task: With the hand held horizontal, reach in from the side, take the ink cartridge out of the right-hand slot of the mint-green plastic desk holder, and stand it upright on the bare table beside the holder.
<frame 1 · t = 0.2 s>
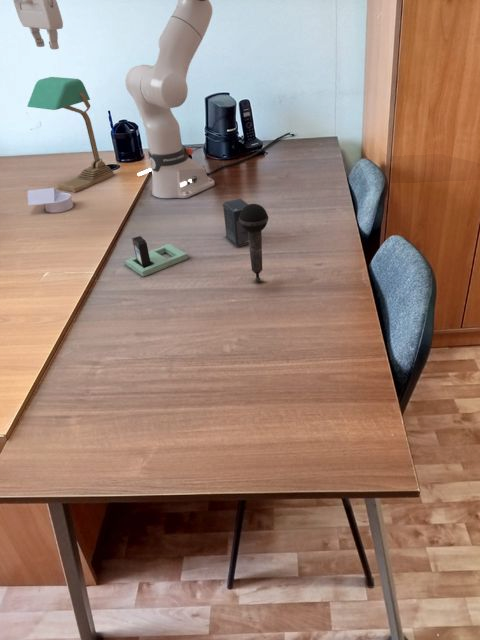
hand: (47, 47, 141), 48 cm above the table, tool pointing down, fingers open, 8 cm apart
wedge on round base: (53, 208, 179), on the table
banker's lamp: (86, 182, 198), on the table
microphone: (258, 282, 132), on the table
ink cartridge: (144, 267, 142), resting in holder
holder: (157, 261, 143), on the table
box: (240, 240, 152), on the table
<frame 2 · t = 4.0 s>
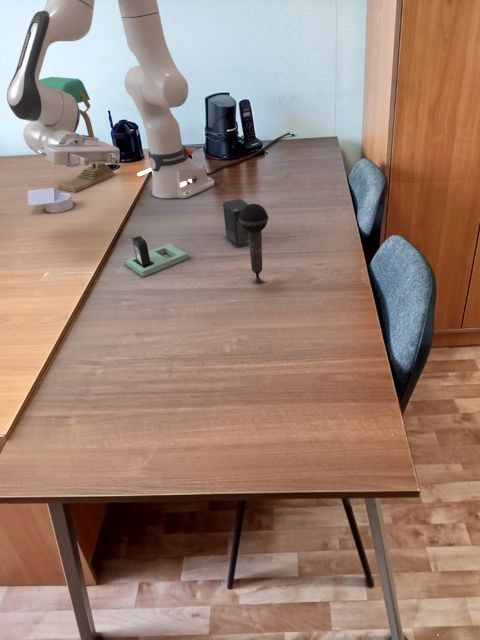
hand: (102, 161, 135), 25 cm above the table, tool horizontal, fingers open, 8 cm apart
nothing on the table moved.
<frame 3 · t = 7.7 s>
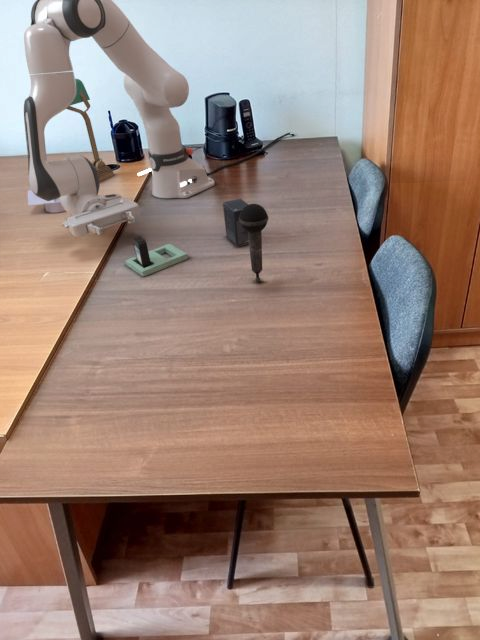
hand: (117, 225, 143), 8 cm above the table, tool horizontal, fingers open, 8 cm apart
nothing on the table moved.
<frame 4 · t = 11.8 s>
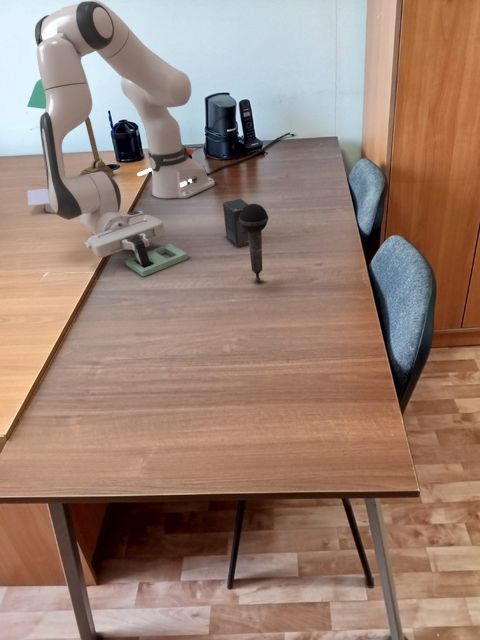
hand: (141, 245, 137), 7 cm above the table, tool horizontal, fingers closed on ink cartridge, 1 cm apart
ink cartridge: (144, 267, 141), resting in holder, touching gripper
everything else where it was.
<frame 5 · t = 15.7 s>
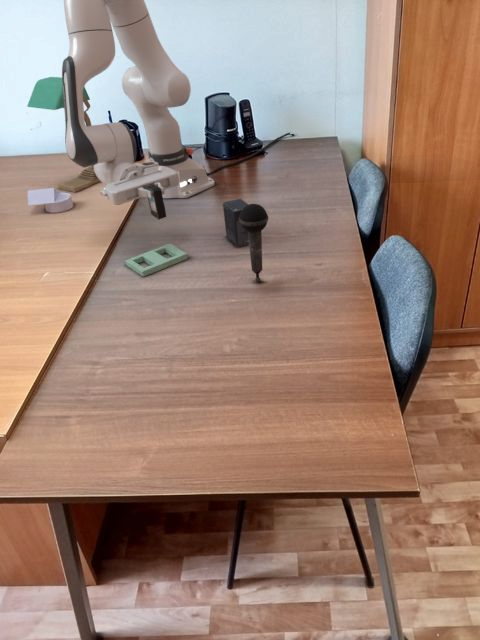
hand: (157, 193, 138), 17 cm above the table, tool horizontal, fingers closed on ink cartridge
ink cartridge: (159, 217, 142), point 10 cm above the table, touching gripper
everything else where it was.
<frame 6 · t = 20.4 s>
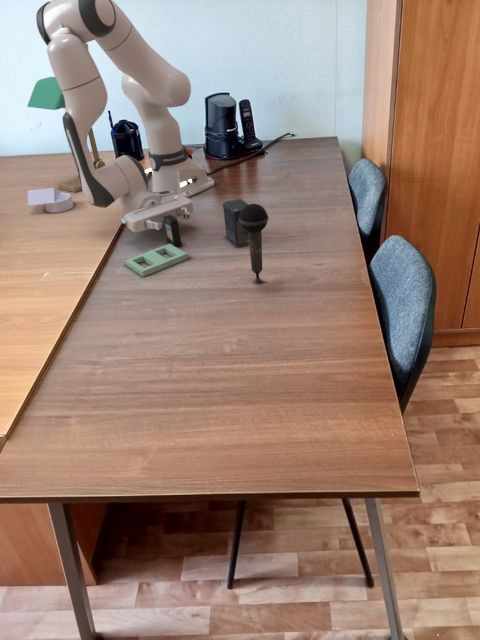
hand: (174, 221, 147), 7 cm above the table, tool horizontal, fingers open, 8 cm apart
ink cartridge: (174, 244, 152), on the table
everything else where it was.
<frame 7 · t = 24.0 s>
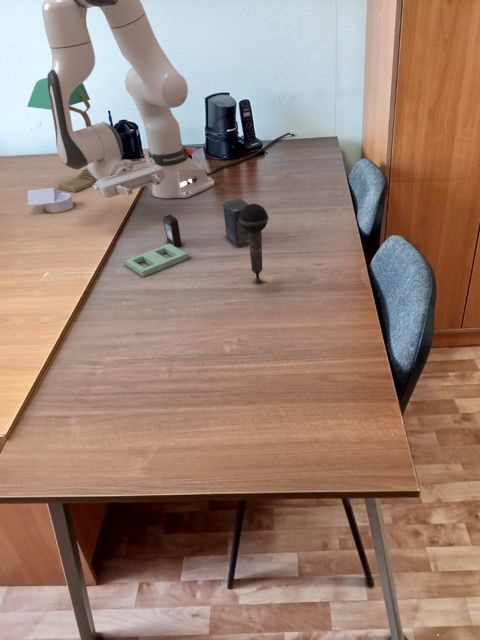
hand: (144, 186, 152), 14 cm above the table, tool horizontal, fingers open, 8 cm apart
nothing on the table moved.
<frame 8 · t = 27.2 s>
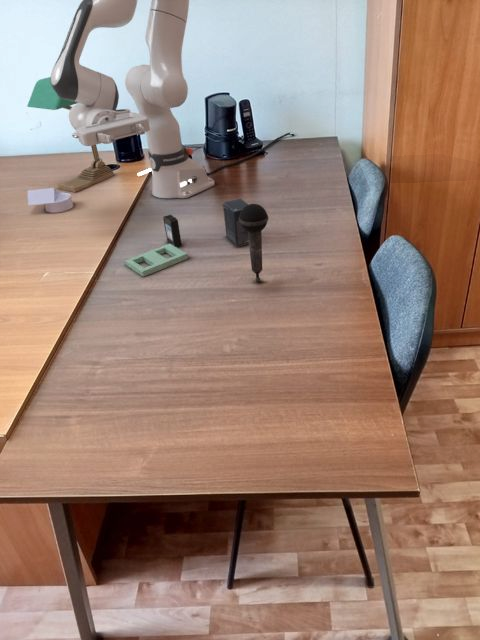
hand: (127, 135, 142), 28 cm above the table, tool horizontal, fingers open, 8 cm apart
nothing on the table moved.
at the end: ink cartridge inside the target area (0.7 cm from its centre), on the table; ink cartridge tilted 0°; the gripper is holding nothing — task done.
